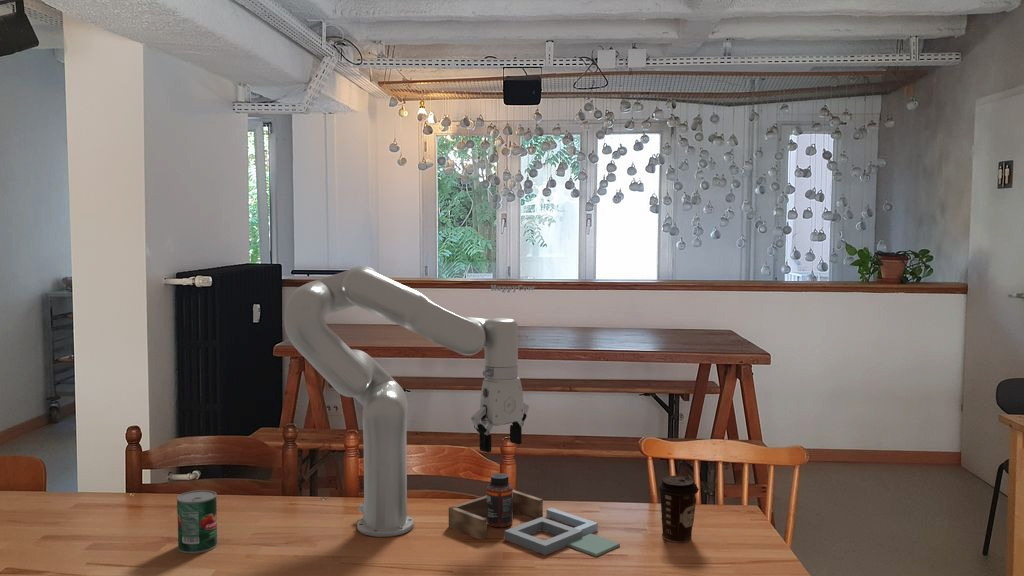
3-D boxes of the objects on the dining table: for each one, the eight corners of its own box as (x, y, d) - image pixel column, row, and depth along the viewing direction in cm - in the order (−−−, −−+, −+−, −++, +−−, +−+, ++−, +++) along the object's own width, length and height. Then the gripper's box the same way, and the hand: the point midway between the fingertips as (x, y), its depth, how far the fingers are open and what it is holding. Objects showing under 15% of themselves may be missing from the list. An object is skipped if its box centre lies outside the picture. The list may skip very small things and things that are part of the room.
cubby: (448, 526, 188) (448, 507, 188) (508, 506, 202) (508, 488, 202) (482, 540, 180) (482, 520, 180) (542, 518, 194) (542, 499, 194)
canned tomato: (177, 542, 178) (176, 492, 177) (216, 537, 181) (215, 488, 180) (178, 556, 171) (177, 504, 170) (219, 550, 174) (217, 499, 173)
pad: (567, 546, 178) (567, 543, 178) (590, 536, 183) (590, 533, 183) (596, 556, 172) (596, 553, 172) (619, 546, 178) (619, 543, 178)
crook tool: (531, 522, 192) (531, 514, 192) (551, 515, 196) (551, 507, 196) (578, 538, 182) (578, 530, 182) (597, 530, 187) (597, 523, 187)
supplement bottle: (516, 521, 192) (517, 473, 191) (505, 530, 186) (506, 481, 186) (493, 517, 194) (494, 470, 193) (482, 525, 189) (482, 477, 188)
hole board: (504, 539, 181) (504, 530, 181) (541, 525, 189) (541, 516, 189) (545, 555, 173) (545, 545, 172) (582, 539, 181) (582, 530, 181)
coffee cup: (699, 533, 185) (701, 476, 184) (695, 547, 177) (696, 487, 176) (660, 528, 188) (661, 472, 187) (654, 541, 180) (655, 483, 179)
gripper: (484, 380, 179) (484, 458, 180) (539, 370, 191) (538, 443, 193) (461, 375, 184) (461, 451, 185) (515, 366, 196) (515, 437, 198)
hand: (500, 447), depth 189 cm, fingers open, 9 cm apart
